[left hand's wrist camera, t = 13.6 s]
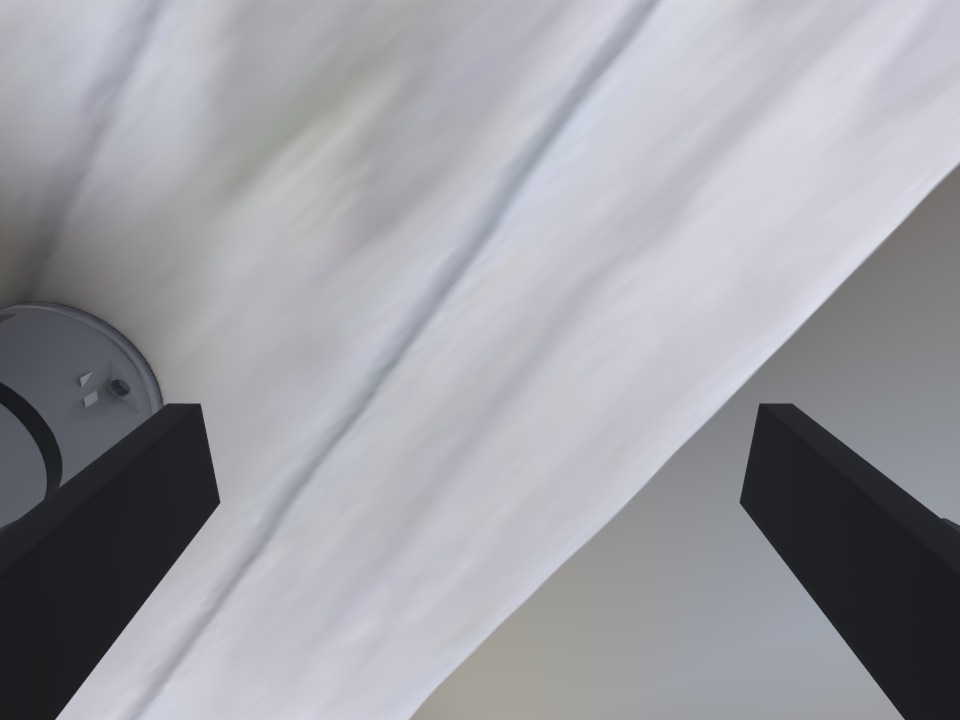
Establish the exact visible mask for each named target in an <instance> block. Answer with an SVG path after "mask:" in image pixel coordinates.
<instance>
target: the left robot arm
mask: <svg viewBox="0 0 960 720" xmlns="http://www.w3.org/2000/svg"><path fill="white" fill-rule="evenodd" d="M219 504H220V498H219V493H218V488H217V483H216V478H215V473H214V469H213V464H212V459H211V454H210V449H209V444H208V439H207V434H206V429H205V424H204V419H203V414H202V409H201V404H167V405H165V406H164V407H163V408H162V403H161V397H160V393H159V389H158V386H157V383H156V381H155V379H154V376H153V374H152V372H151V370H150V369H149V367H148V365H147V363H146V362H145V361H144V359H143V358H142V356H141V355H140V354H139V353H138V351H137V350H136V349H135V348H134V347H133V346H132V345H131V344H130V343H129V342H128V341H127V340H126V339H125V338H124V337H123V336H122V335H121V334H120V333H118V332H117V331H116V330H114V329H113V328H112V327H110V326H109V325H107V324H106V323H104V322H103V321H101V320H99V319H97V318H95V317H93V316H92V315H89V314H87V313H85V312H82V311H80V310H77V309H74V308H71V307H67V306H63V305H58V304H52V303H41V302H39V303H23V304H18V305H13V306H10V307H7V308H3V309H0V720H55V719H56V718H57V717H58V715H59V714H60V713H61V711H62V710H63V709H64V707H65V706H66V705H67V703H68V702H69V701H70V700H71V698H72V697H73V696H74V694H75V693H76V692H77V690H78V689H79V688H80V686H81V685H82V684H83V682H84V681H85V680H86V679H87V677H88V676H89V675H90V673H91V672H92V671H93V669H94V668H95V667H96V665H97V664H98V663H99V661H100V660H101V659H102V658H103V656H104V655H105V654H106V652H107V651H108V650H109V648H110V647H111V646H112V644H113V643H114V642H115V640H116V639H117V638H118V637H119V635H120V634H121V633H122V631H123V630H124V629H125V627H126V626H127V625H128V623H129V622H130V621H131V619H132V618H133V617H134V616H135V614H136V613H137V612H138V610H139V609H140V608H141V606H142V605H143V604H144V602H145V601H146V600H147V598H148V597H149V596H150V594H151V593H152V592H153V591H154V589H155V588H156V587H157V585H158V584H159V583H160V581H161V580H162V579H163V577H164V576H165V575H166V573H167V572H168V571H169V570H170V568H171V567H172V566H173V564H174V563H175V562H176V560H177V559H178V558H179V556H180V555H181V554H182V552H183V551H184V550H185V549H186V547H187V546H188V545H189V543H190V542H191V541H192V539H193V538H194V537H195V535H196V534H197V533H198V531H199V530H200V529H201V528H202V526H203V525H204V524H205V522H206V521H207V520H208V518H209V517H210V516H211V514H212V513H213V512H214V510H215V509H216V508H217V507H218V505H219ZM740 504H741V505H742V507H743V508H744V509H745V510H746V512H747V513H748V514H749V516H750V517H751V518H752V520H753V521H754V522H755V524H756V525H757V526H758V528H759V529H760V530H761V531H762V533H763V534H764V535H765V537H766V538H767V539H768V541H769V542H770V543H771V545H772V546H773V547H774V549H775V550H776V551H777V552H778V554H779V555H780V556H781V558H782V559H783V560H784V562H785V563H786V564H787V566H788V567H789V568H790V570H791V571H792V572H793V573H794V575H795V576H796V577H797V579H798V580H799V581H800V583H801V584H802V585H803V587H804V588H805V589H806V590H807V592H808V593H809V594H810V596H811V597H812V598H813V600H814V601H815V602H816V604H817V605H818V606H819V608H820V609H821V610H822V612H823V613H824V614H825V615H826V617H827V618H828V619H829V621H830V622H831V623H832V625H833V626H834V627H835V629H836V630H837V631H838V633H839V634H840V635H841V636H842V638H843V639H844V640H845V642H846V643H847V644H848V646H849V647H850V648H851V650H852V651H853V652H854V653H855V655H856V656H857V658H858V659H859V660H860V661H861V663H862V664H863V665H864V667H865V668H866V669H867V671H868V672H869V673H870V675H871V676H872V677H873V679H874V680H875V681H876V682H877V684H878V685H879V686H880V688H881V689H882V690H883V692H884V693H885V694H886V696H887V697H888V698H889V700H890V701H891V702H892V703H893V705H894V706H895V707H896V709H897V710H898V711H899V713H900V714H901V715H902V717H903V718H904V719H905V720H960V526H959V525H957V524H955V523H953V522H951V521H950V520H948V519H945V518H939V517H938V516H937V515H935V514H934V513H933V512H931V511H930V510H929V509H928V508H926V507H925V506H924V505H922V504H921V503H920V502H918V501H917V500H916V499H915V498H913V497H912V496H911V495H910V494H908V493H907V492H906V491H904V490H903V489H902V488H900V487H899V486H898V485H897V484H895V483H894V482H893V481H891V480H890V479H889V478H888V477H886V476H885V475H884V474H882V473H881V472H880V471H878V470H877V469H876V468H875V467H873V466H872V465H871V464H869V463H868V462H867V461H866V460H864V459H863V458H862V457H860V456H859V455H858V454H857V453H855V452H854V451H853V450H851V449H850V448H849V447H847V446H846V445H845V444H844V443H842V442H841V441H840V440H838V439H837V438H836V437H835V436H833V435H832V434H831V433H829V432H828V431H827V430H826V429H824V428H823V427H822V426H820V425H819V424H818V423H816V422H815V421H814V420H813V419H811V418H810V417H809V416H807V415H806V414H805V413H804V412H802V411H801V410H800V409H798V408H797V407H796V406H795V405H793V404H759V409H758V414H757V419H756V424H755V429H754V434H753V439H752V444H751V449H750V454H749V459H748V464H747V469H746V474H745V478H744V483H743V489H742V494H741V498H740Z"/></svg>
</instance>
